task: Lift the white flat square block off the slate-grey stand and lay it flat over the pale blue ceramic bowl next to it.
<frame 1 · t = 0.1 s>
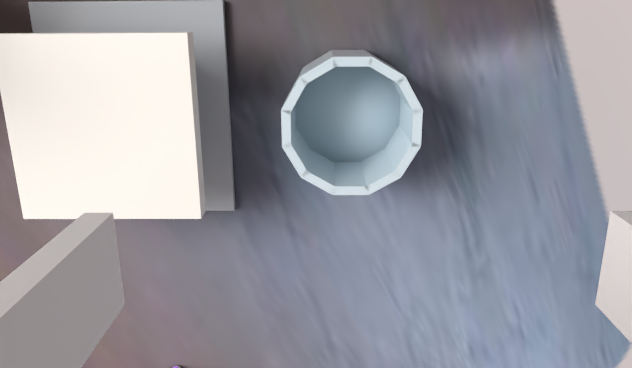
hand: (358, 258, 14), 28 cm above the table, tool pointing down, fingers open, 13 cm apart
sheet stand: (139, 110, 41), on the table
ceramic bowl: (347, 110, 41), on the table
white flat square block: (109, 126, 36), point 6 cm above the table, touching sheet stand
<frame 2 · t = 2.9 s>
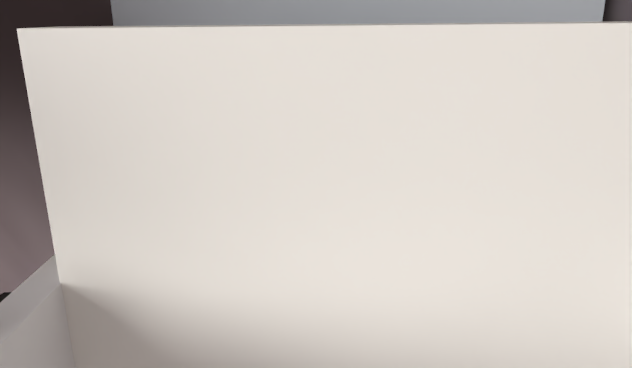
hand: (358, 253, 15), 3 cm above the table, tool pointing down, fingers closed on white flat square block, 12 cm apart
sheet stand: (352, 209, 18), on the table
white flat square block: (365, 302, 12), point 6 cm above the table, touching gripper, sheet stand
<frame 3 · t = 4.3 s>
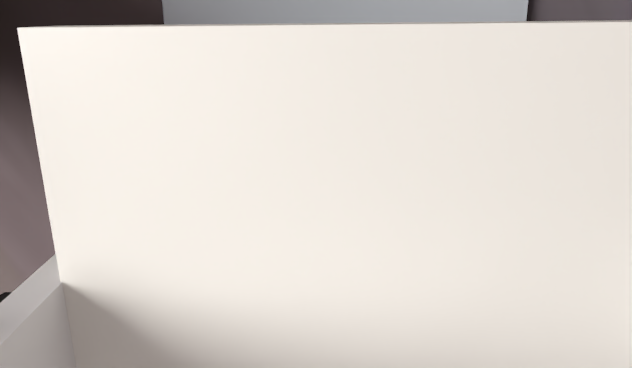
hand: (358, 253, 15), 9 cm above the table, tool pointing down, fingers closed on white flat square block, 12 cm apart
sheet stand: (342, 175, 23), on the table
white flat square block: (365, 301, 12), point 12 cm above the table, touching gripper
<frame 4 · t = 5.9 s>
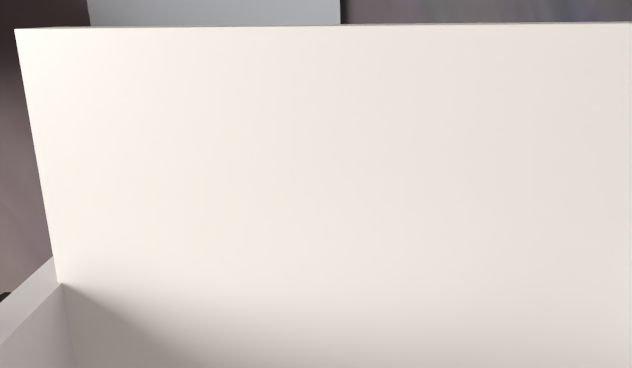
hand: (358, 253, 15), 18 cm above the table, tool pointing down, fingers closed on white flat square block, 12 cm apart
sheet stand: (226, 125, 32), on the table
white flat square block: (363, 302, 12), point 21 cm above the table, touching gripper
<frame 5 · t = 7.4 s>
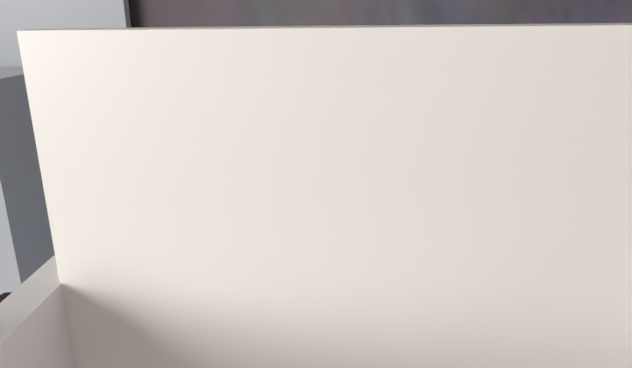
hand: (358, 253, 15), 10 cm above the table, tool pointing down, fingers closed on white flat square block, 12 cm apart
white flat square block: (365, 304, 12), point 13 cm above the table, touching gripper
when the fingers open (6 cm above the table, at t = 8.9 s): white flat square block drops 1 cm, resting on ceramic bowl.
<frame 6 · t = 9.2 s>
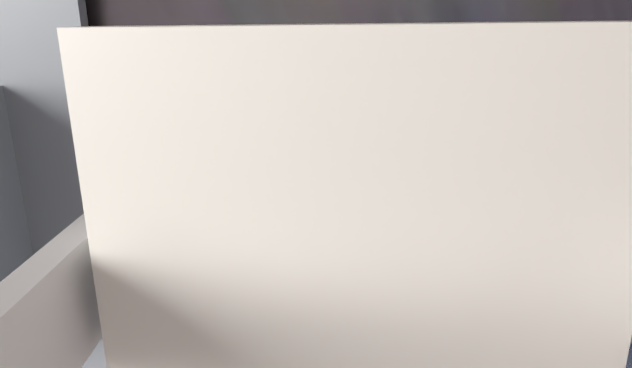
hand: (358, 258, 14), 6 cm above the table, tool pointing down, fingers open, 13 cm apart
white flat square block: (360, 274, 13), point 7 cm above the table, touching ceramic bowl
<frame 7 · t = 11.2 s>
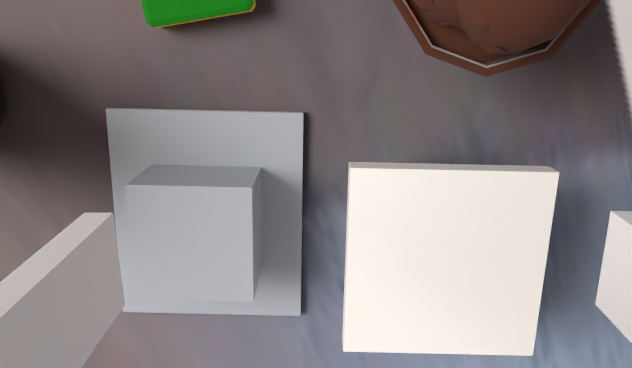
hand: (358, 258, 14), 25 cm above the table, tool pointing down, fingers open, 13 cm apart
sheet stand: (209, 215, 41), on the table
white flat square block: (440, 256, 34), point 7 cm above the table, touching ceramic bowl
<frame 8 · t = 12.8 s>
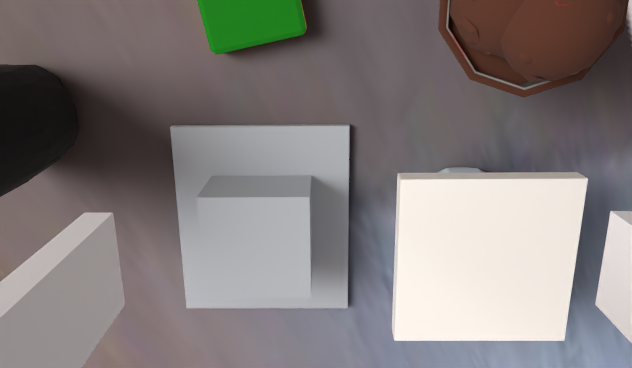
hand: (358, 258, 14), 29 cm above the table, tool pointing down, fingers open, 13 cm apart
portable speaker: (33, 113, 43), on the table
ice cream bowl: (485, 2, 40), on the table
sheet stand: (264, 219, 45), on the table
white flat square block: (480, 254, 38), point 7 cm above the table, touching ceramic bowl
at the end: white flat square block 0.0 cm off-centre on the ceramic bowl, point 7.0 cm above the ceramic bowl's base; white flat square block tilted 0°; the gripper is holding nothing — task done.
